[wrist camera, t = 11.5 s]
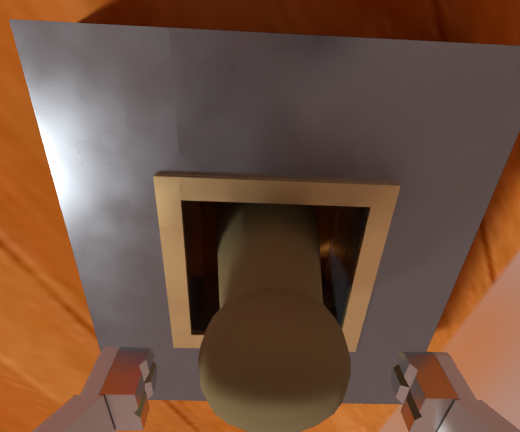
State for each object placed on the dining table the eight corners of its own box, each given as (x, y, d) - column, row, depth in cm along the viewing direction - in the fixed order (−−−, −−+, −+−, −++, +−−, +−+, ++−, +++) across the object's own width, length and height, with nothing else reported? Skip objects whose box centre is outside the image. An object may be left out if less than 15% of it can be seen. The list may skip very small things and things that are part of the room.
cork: (337, 206, 19) (420, 383, 9) (284, 279, 22) (307, 476, 12) (244, 159, 18) (229, 311, 8) (199, 243, 20) (147, 434, 11)
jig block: (75, 22, 15) (2, 18, 10) (477, 43, 15) (562, 48, 11) (137, 339, 24) (111, 403, 20) (380, 345, 25) (405, 408, 21)
